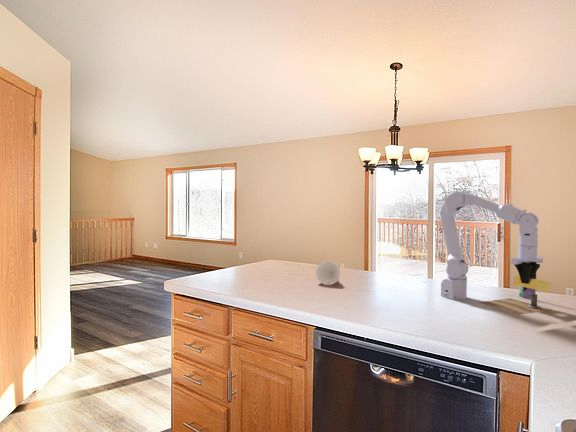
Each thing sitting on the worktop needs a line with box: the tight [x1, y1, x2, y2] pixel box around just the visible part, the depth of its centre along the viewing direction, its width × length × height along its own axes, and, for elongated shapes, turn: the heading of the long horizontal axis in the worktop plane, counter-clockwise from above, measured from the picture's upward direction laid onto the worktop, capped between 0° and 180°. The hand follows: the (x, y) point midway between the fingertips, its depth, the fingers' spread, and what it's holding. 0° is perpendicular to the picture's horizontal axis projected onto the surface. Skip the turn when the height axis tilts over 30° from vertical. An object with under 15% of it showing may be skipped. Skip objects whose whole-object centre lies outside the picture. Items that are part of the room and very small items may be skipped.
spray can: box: [518, 261, 538, 300], centre depth 142 cm, size 6×6×20 cm
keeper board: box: [478, 294, 553, 315], centre depth 129 cm, size 18×16×6 cm
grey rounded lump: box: [315, 260, 341, 286], centre depth 174 cm, size 12×12×18 cm
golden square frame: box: [513, 275, 552, 293], centre depth 127 cm, size 8×8×4 cm
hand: (526, 283), depth 126 cm, fingers closed on golden square frame
